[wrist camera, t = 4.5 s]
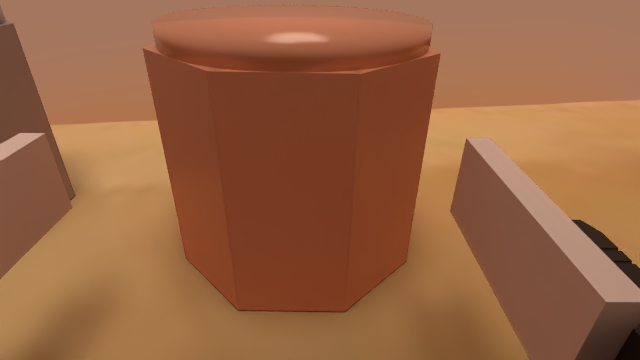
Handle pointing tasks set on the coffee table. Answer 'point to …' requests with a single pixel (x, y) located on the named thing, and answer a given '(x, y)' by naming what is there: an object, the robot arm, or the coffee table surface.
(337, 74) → the octagonal lidded canister
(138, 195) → the coffee table surface
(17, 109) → the brown octagonal jar
